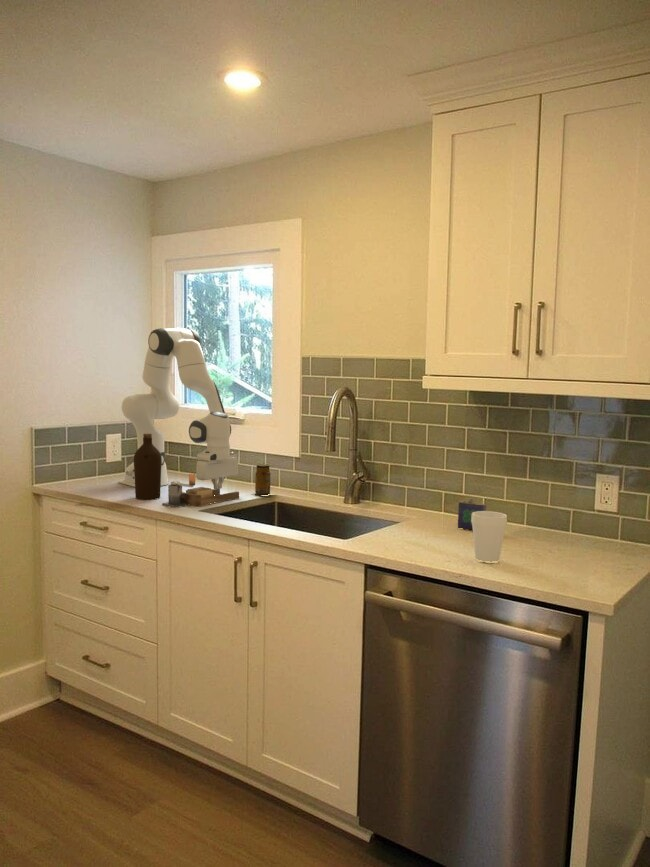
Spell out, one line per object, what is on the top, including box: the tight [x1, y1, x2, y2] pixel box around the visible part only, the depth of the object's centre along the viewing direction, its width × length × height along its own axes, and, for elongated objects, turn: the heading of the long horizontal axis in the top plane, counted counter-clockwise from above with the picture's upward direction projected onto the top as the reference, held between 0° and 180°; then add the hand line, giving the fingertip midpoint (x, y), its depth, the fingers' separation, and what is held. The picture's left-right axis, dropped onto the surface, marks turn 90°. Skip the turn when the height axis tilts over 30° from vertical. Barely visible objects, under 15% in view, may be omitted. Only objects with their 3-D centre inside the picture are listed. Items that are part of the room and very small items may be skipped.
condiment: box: [250, 463, 271, 496], centre depth 293 cm, size 7×8×12 cm
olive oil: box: [133, 434, 162, 501], centre depth 282 cm, size 11×11×25 cm
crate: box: [185, 486, 213, 498], centre depth 276 cm, size 6×8×5 cm
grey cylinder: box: [162, 484, 189, 508], centre depth 269 cm, size 7×7×8 cm
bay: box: [182, 488, 240, 507], centre depth 280 cm, size 12×22×4 cm, turn 143°
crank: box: [170, 473, 196, 488], centre depth 266 cm, size 12×3×5 cm, turn 53°
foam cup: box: [471, 510, 508, 562], centre depth 200 cm, size 10×9×13 cm
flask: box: [457, 497, 487, 531], centre depth 237 cm, size 9×3×11 cm, turn 59°
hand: (217, 488), depth 285 cm, fingers closed
